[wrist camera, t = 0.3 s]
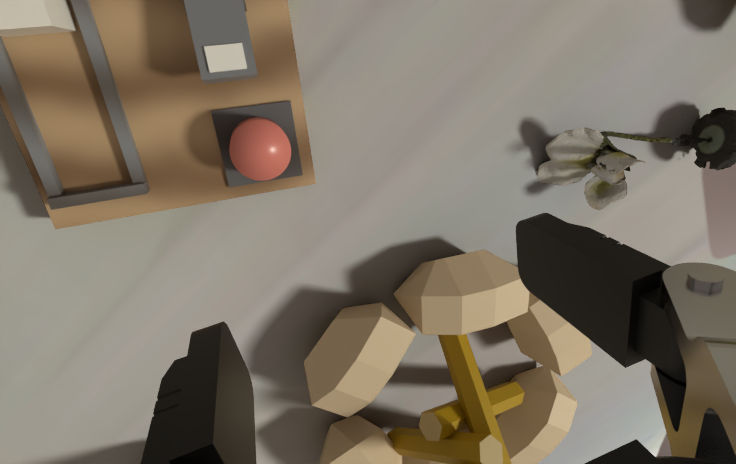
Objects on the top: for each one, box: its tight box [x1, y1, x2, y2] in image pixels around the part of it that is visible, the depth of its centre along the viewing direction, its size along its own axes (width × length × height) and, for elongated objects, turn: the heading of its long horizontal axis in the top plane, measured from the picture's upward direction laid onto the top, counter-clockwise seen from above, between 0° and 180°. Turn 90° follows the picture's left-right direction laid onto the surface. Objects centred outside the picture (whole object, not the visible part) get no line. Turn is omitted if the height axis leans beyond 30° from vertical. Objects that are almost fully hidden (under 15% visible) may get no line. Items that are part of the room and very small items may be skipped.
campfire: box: [304, 250, 592, 464], centre depth 43 cm, size 35×34×17 cm
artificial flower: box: [536, 108, 736, 211], centre depth 43 cm, size 9×23×10 cm, turn 90°
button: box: [229, 116, 291, 181], centre depth 31 cm, size 4×4×3 cm
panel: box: [0, 0, 316, 229], centre depth 30 cm, size 20×20×4 cm
